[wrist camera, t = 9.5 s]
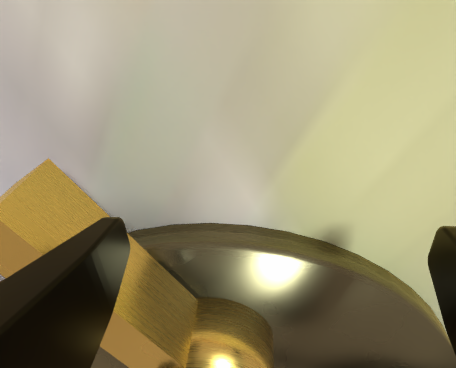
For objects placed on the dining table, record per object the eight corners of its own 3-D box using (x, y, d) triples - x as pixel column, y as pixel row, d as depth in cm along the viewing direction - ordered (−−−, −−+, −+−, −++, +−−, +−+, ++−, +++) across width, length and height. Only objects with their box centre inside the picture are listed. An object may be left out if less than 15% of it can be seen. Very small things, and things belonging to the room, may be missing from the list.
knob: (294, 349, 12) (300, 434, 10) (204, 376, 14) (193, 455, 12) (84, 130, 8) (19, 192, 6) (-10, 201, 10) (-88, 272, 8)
